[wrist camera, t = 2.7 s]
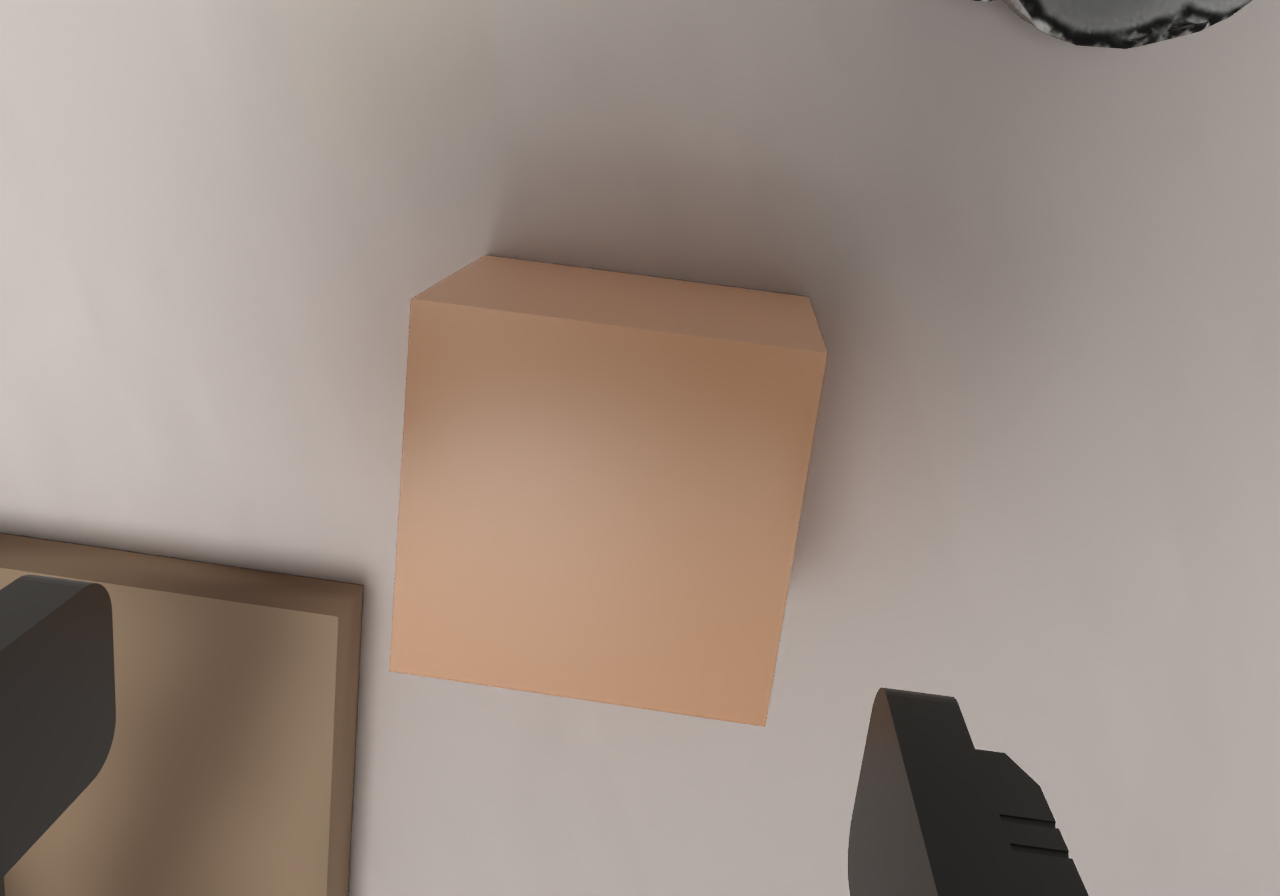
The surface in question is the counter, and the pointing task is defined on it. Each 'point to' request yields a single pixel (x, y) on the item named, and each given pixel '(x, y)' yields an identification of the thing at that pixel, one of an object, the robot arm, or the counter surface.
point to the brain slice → (1122, 19)
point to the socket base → (208, 732)
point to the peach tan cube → (603, 485)
